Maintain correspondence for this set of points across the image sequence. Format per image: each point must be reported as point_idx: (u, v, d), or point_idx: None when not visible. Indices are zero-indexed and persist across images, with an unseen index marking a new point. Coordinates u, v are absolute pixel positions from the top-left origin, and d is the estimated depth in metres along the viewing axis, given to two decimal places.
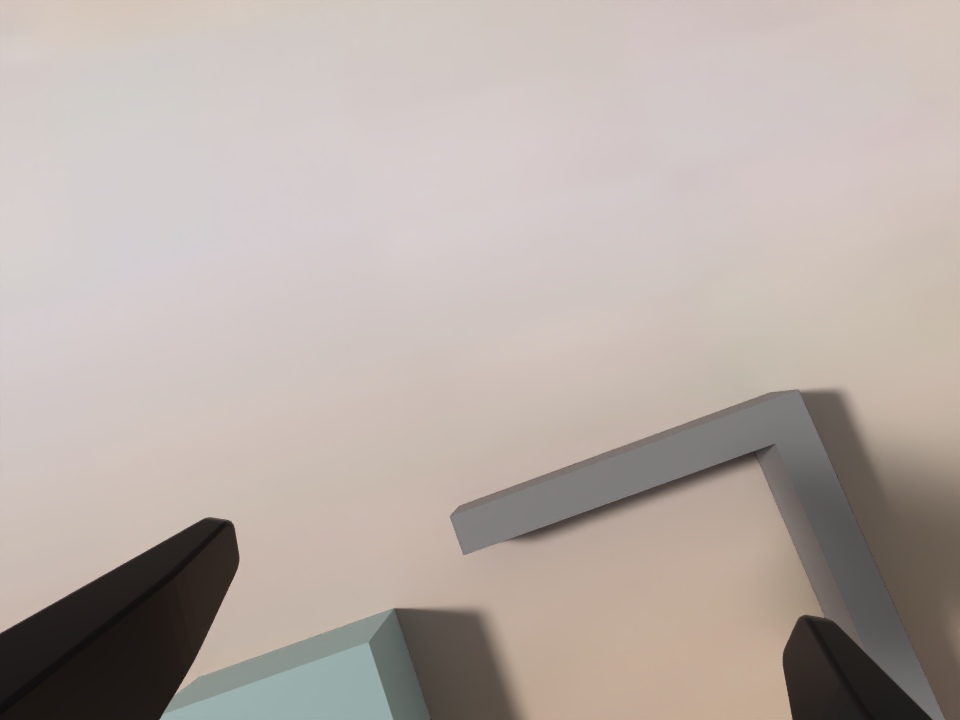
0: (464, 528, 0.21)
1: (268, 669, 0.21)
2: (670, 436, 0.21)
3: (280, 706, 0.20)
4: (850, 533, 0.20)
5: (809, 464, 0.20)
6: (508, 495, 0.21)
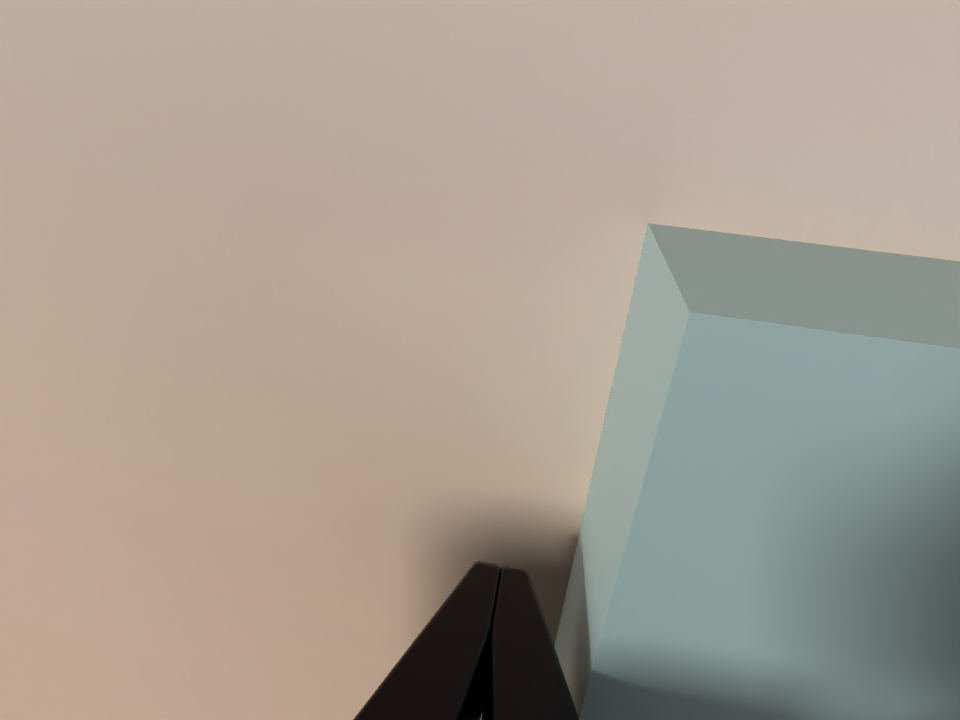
0: None
1: None
2: None
3: None
4: None
5: None
6: None
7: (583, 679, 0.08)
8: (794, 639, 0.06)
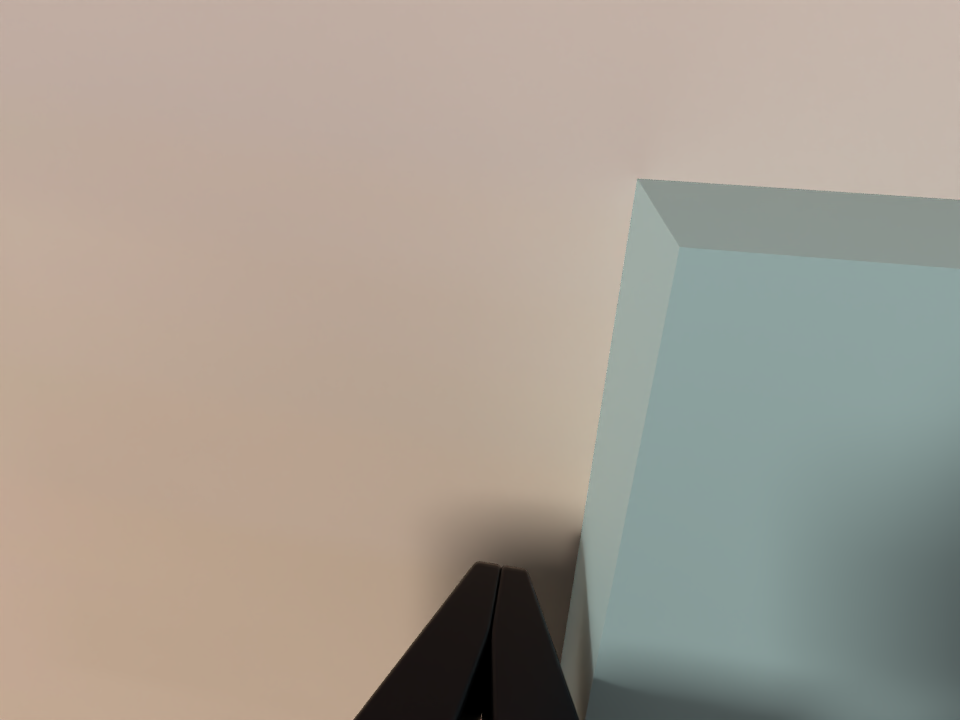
0: None
1: None
2: None
3: None
4: None
5: None
6: None
7: (592, 658, 0.07)
8: (812, 603, 0.06)
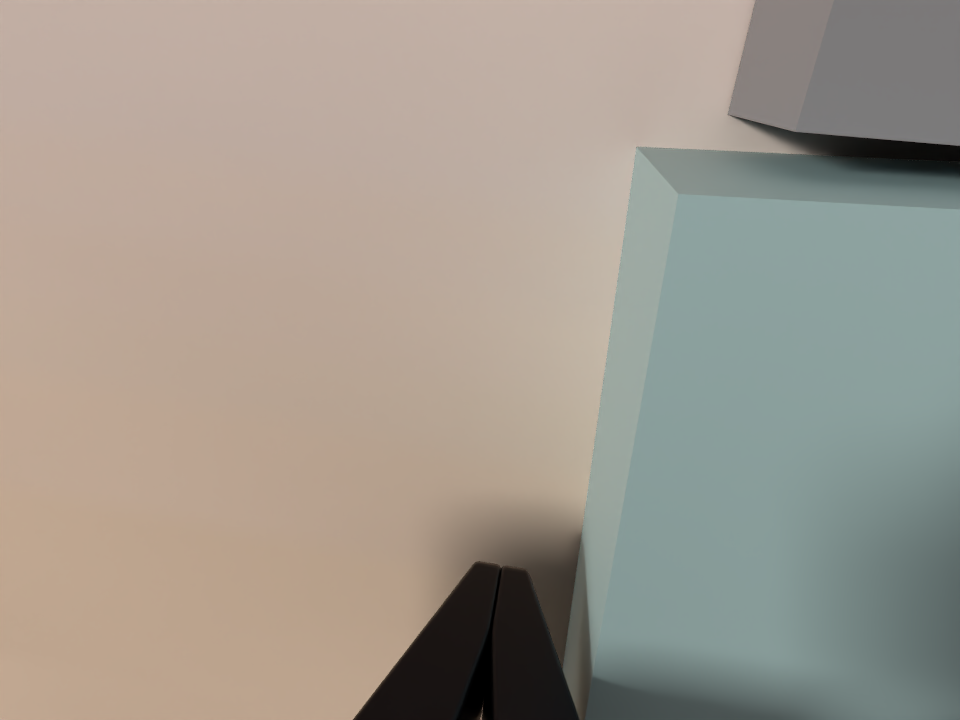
0: (880, 12, 0.04)
1: None
2: None
3: None
4: None
5: None
6: None
7: (595, 636, 0.07)
8: (821, 572, 0.06)
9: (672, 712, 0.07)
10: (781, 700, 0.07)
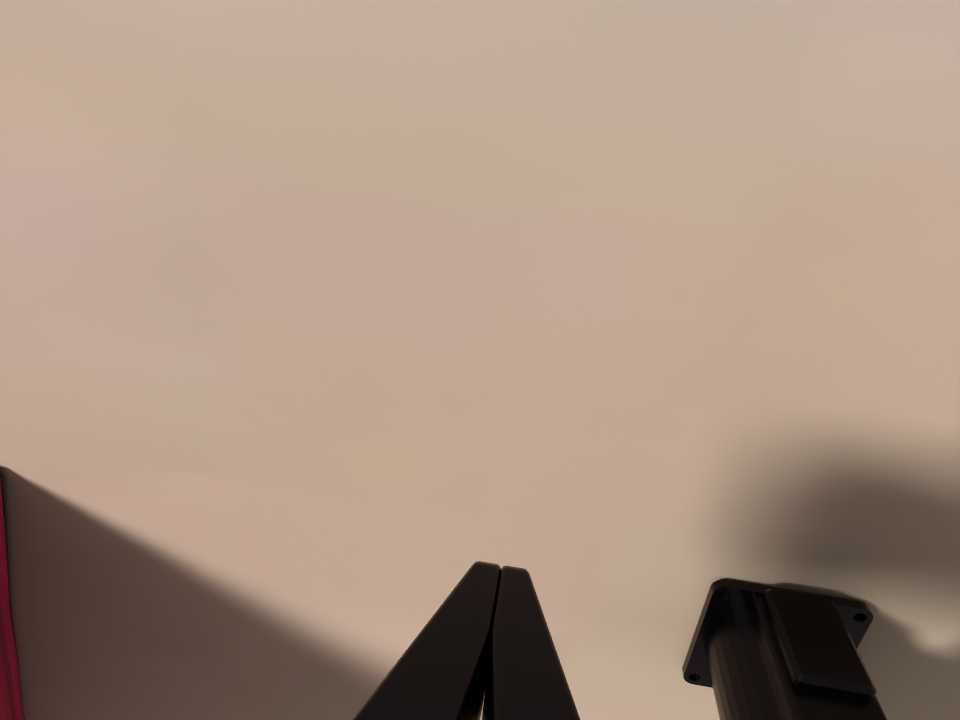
0: None
1: None
2: None
3: None
4: None
5: None
6: None
7: None
8: None
9: None
10: None
